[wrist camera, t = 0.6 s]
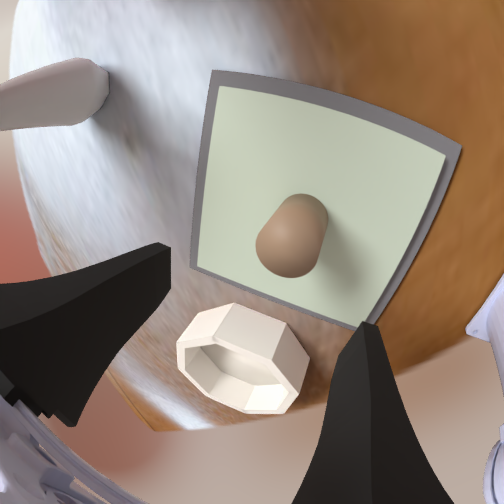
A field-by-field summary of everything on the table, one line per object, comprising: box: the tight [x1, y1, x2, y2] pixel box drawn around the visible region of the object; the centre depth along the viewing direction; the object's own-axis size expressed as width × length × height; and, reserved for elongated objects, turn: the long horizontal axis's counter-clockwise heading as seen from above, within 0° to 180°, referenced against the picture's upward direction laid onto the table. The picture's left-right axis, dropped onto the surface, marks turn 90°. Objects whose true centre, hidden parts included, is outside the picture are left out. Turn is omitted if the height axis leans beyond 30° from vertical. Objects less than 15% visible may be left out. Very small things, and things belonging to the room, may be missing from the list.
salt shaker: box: [0, 58, 110, 131], centre depth 12 cm, size 6×6×13 cm
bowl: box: [176, 302, 310, 414], centre depth 24 cm, size 11×11×4 cm
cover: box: [197, 86, 446, 327], centre depth 14 cm, size 13×13×5 cm
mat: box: [190, 70, 462, 331], centre depth 16 cm, size 15×15×1 cm
